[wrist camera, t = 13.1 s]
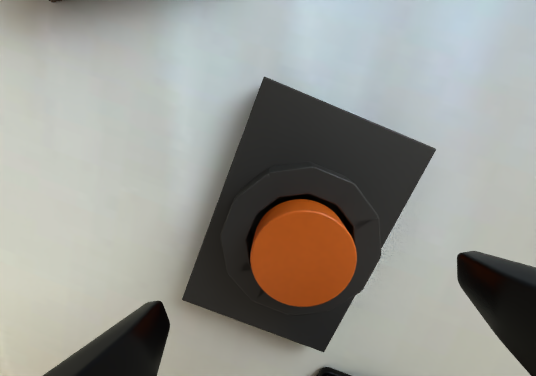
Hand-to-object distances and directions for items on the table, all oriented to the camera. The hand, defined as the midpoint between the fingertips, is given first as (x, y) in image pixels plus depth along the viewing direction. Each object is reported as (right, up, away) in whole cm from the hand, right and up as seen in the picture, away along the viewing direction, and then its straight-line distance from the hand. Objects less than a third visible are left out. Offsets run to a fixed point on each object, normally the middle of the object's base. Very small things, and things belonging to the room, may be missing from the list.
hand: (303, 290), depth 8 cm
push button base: (+1, +1, +7) cm, 8 cm away
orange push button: (0, 0, +4) cm, 5 cm away
